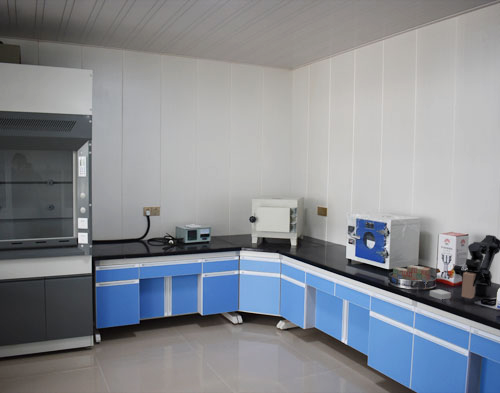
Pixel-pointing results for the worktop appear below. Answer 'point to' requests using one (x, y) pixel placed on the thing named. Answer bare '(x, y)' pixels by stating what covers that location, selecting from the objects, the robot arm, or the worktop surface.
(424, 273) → the stack of blocks
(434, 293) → the plinth block
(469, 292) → the terracotta block
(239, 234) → the worktop surface
